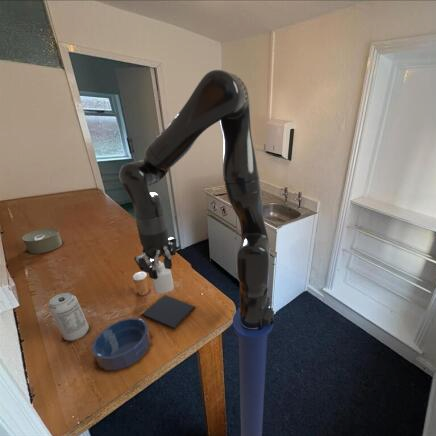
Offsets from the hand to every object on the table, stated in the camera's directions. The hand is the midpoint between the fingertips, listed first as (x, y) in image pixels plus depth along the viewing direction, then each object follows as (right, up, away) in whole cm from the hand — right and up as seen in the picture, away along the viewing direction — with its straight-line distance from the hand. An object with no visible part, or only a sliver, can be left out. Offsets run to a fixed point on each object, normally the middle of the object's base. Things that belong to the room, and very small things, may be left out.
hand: (161, 272), depth 76 cm
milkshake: (-16, -12, +15) cm, 24 cm away
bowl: (-8, -22, -6) cm, 24 cm away
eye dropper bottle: (-1, -7, +3) cm, 8 cm away
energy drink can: (-25, -19, -3) cm, 32 cm away
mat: (-1, -16, +8) cm, 18 cm away
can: (-76, +4, +36) cm, 84 cm away
